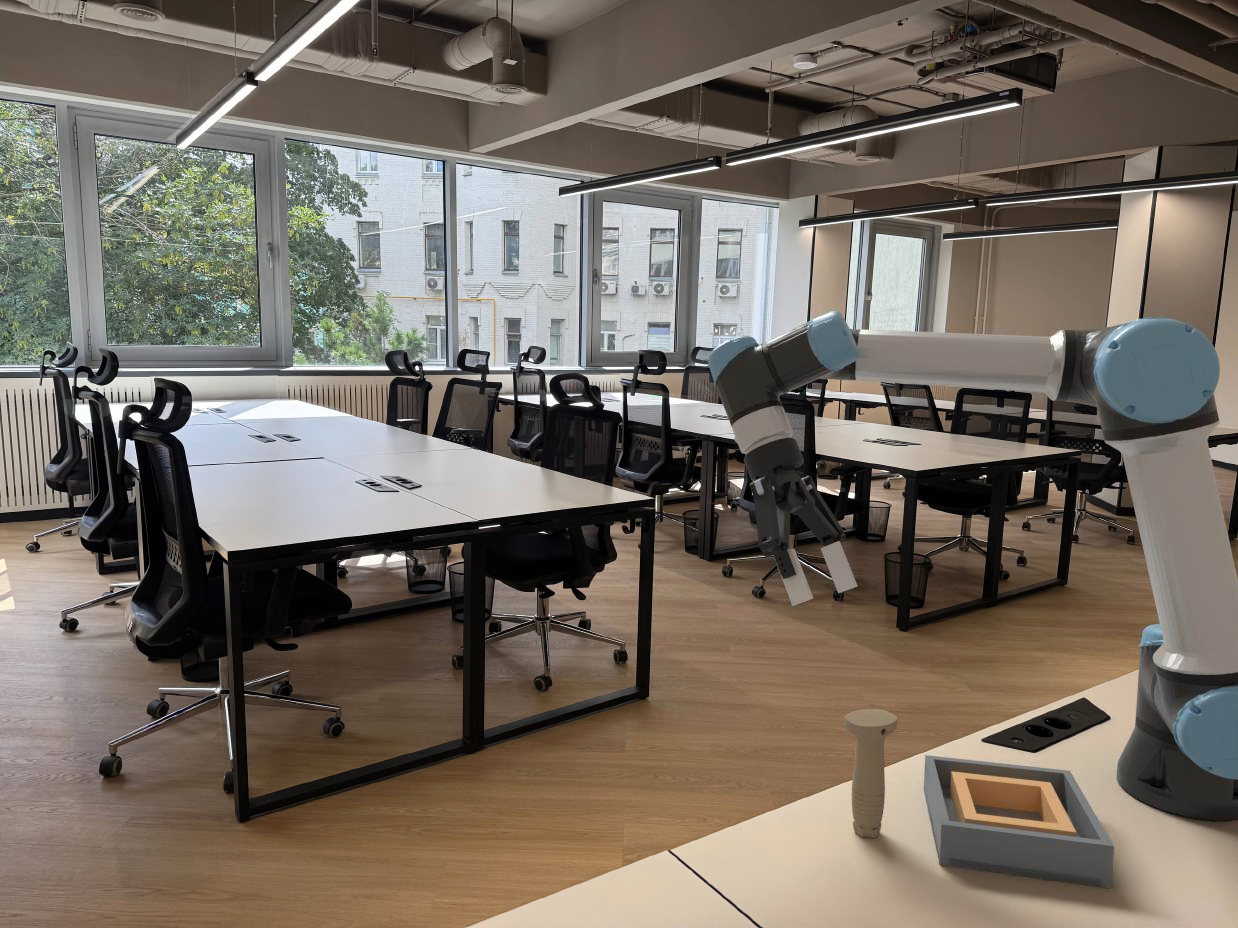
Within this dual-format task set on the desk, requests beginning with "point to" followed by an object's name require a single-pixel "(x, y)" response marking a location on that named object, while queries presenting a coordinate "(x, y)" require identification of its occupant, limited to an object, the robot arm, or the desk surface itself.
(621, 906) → the desk surface
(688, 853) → the desk surface
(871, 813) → the handle
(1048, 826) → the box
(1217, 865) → the desk surface
